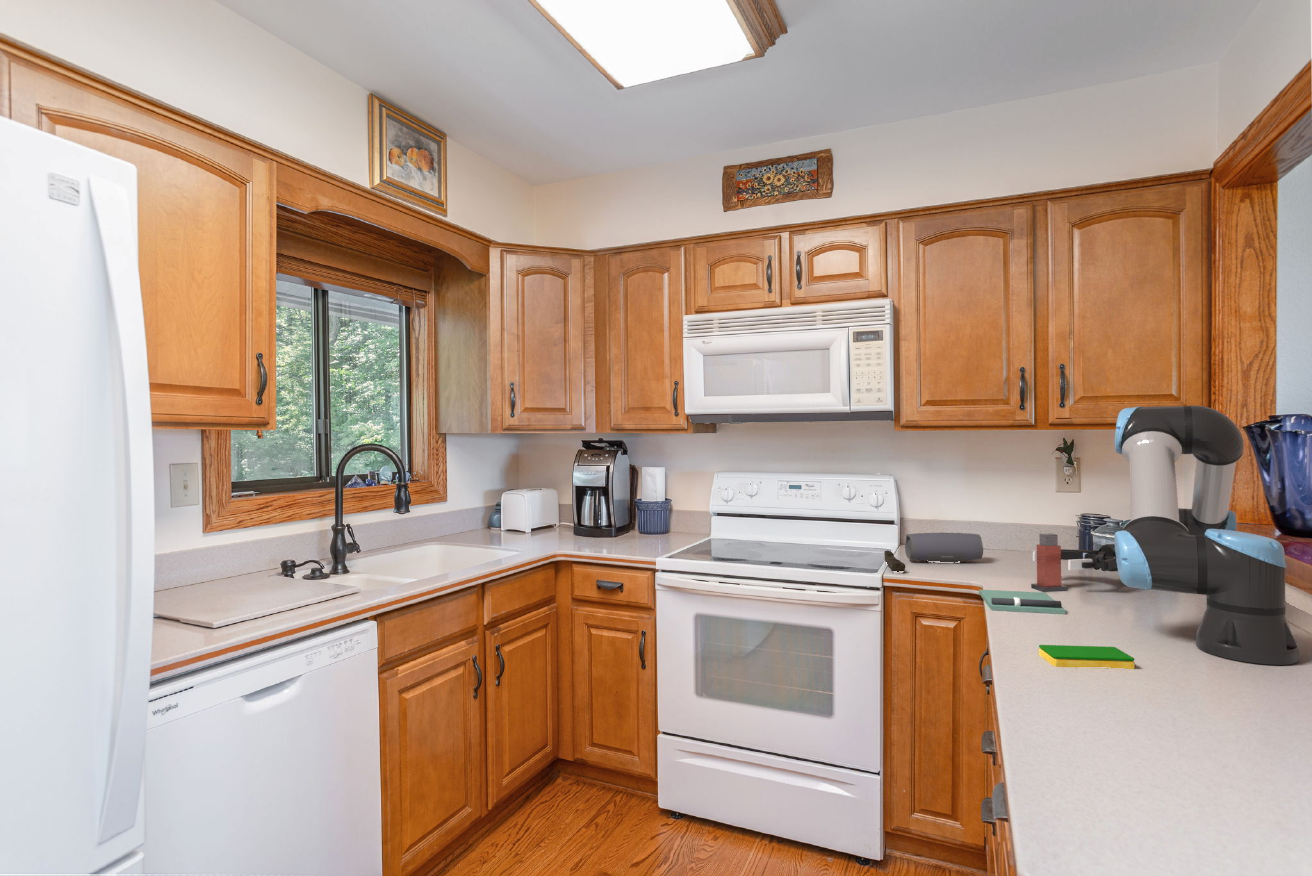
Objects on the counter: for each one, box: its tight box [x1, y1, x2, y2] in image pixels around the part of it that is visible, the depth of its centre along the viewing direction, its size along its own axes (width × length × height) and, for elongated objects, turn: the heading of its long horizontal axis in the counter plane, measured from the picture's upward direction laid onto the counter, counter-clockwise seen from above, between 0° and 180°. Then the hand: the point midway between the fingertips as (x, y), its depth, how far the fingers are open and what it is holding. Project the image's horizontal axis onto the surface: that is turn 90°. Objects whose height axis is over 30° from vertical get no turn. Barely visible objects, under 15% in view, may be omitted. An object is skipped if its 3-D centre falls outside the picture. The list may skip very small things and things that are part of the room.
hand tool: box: [884, 549, 906, 572], centre depth 218 cm, size 19×4×5 cm, turn 170°
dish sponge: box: [1038, 644, 1135, 670], centre depth 128 cm, size 7×14×2 cm, turn 82°
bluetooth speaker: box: [904, 532, 984, 562], centre depth 226 cm, size 23×9×10 cm, turn 84°
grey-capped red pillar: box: [1030, 532, 1068, 593], centre depth 186 cm, size 5×7×15 cm
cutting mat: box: [978, 589, 1066, 615], centre depth 172 cm, size 18×16×3 cm
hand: (1050, 560), depth 187 cm, fingers open, 13 cm apart
